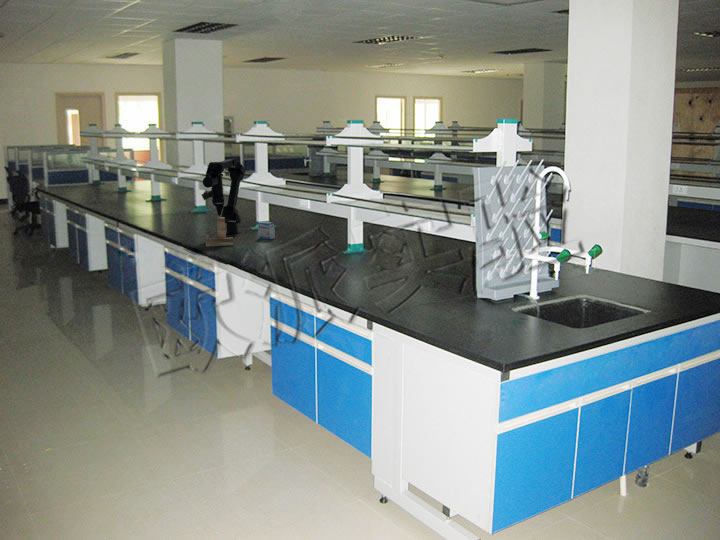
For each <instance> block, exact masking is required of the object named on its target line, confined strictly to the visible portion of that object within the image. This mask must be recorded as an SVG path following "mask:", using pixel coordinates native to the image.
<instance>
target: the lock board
mask: <svg viewBox="0 0 720 540" xmlns="http://www.w3.org/2000/svg"><path fill="white" fill-rule="evenodd" d="M204 239H205V247H206V248H207V247H221V246H222V247H223V246H224V247H225V246H234V244H235V243H234V237H233V236H232V237H226V238H221V239H218V238H217V237H216V238H210V236H209V234H206V235H205V238H204Z"/></svg>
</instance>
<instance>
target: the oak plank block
mask: <svg viewBox="0 0 720 540" xmlns="http://www.w3.org/2000/svg"><path fill="white" fill-rule="evenodd" d="M216 225H217V226H216V228H217V229H216V230H217V237H218V239H221V238H227V234H226V233H227V229H226V223H225V217H222V216H221V217H216Z"/></svg>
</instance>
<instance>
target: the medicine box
mask: <svg viewBox="0 0 720 540" xmlns="http://www.w3.org/2000/svg"><path fill="white" fill-rule="evenodd" d="M257 231H258V232H257V233H258V239H261V240H263V239H264V240H274V239H276V234H275V233H276V231H275V222H271V221H270V222H269V221H260V222H257Z"/></svg>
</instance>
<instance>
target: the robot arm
mask: <svg viewBox="0 0 720 540" xmlns="http://www.w3.org/2000/svg"><path fill="white" fill-rule="evenodd" d="M226 169H227V172H228V173H229V174H228V176H229V178H230V180H231V181H230V187H229V192H228V199H227V203H226V205H225V196H224V187H223V186H224V185H223V177H224V174H223V172H224V171H225V170H226ZM245 175H246V168H245V167H244V166H243V164H241V162H239V161H237V159H236V158H227V159H225V160H222V161H209V163H208V165H207V169H206V171H205V177H204V178H203V180H202V185H203V187H205V188H210V189H211V190H208V191H204V192H203V193H202V194H201V197H202V199H203V201H206V200H208V199H210V198H211V202H212V205H213V206H215V208H216V212H217V216H218V217H220V216H221V217H225V224H226V225H225V228H226V235H237V234H240V233H241V231H239V224H241V222H242V218H241V216H240V214H239V210H238V208H237V202H238V196H239V192H240V191H239V190H240V183H241V182H242V181H243V180H244V177H245Z"/></svg>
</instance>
